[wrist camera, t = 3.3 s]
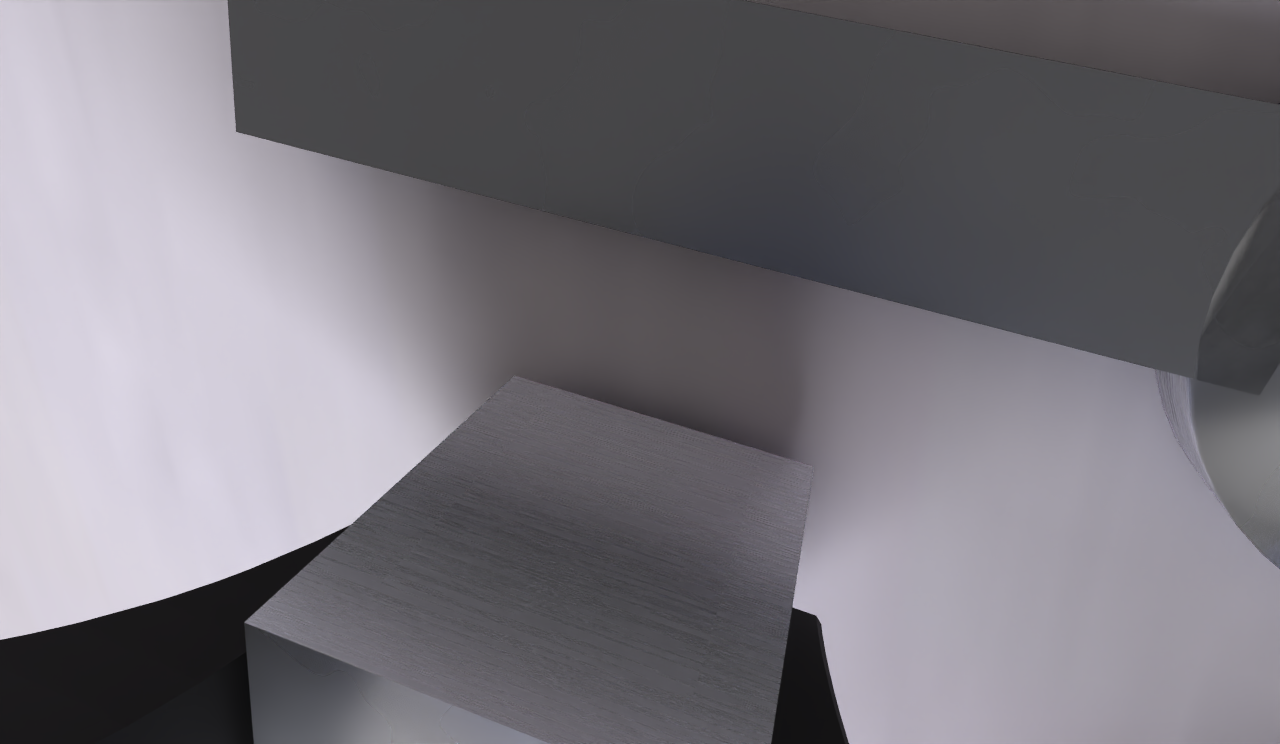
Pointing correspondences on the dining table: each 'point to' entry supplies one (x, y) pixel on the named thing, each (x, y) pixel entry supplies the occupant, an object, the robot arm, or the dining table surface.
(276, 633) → the brushed metal cube
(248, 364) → the dining table surface
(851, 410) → the dining table surface
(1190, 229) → the ratchet
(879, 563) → the dining table surface
